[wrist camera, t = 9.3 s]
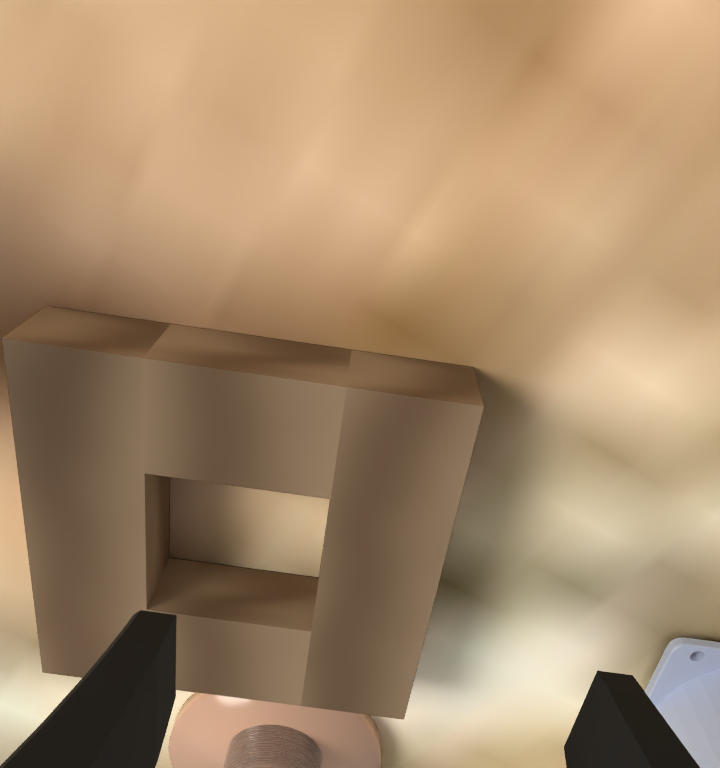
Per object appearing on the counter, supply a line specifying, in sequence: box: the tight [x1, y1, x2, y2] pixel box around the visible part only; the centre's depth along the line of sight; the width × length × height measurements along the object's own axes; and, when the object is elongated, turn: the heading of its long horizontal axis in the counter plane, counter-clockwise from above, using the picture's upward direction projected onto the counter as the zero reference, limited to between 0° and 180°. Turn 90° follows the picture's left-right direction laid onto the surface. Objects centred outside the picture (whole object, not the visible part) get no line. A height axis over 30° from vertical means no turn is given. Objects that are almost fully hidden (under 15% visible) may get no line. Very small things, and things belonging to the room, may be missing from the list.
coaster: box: [169, 692, 381, 768], centre depth 28 cm, size 9×9×1 cm
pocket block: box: [2, 306, 484, 719], centre depth 22 cm, size 13×13×2 cm
